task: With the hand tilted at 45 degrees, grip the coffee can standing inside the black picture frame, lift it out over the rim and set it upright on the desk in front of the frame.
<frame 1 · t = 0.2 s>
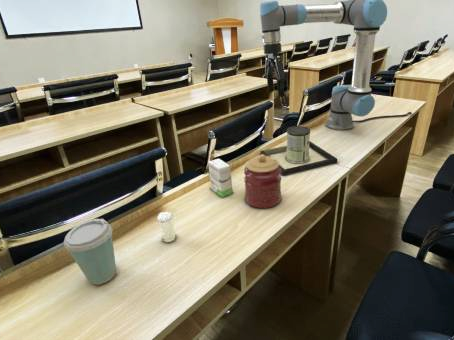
hand: (276, 94, 138), 27 cm above the table, tool pointing down, fingers open, 13 cm apart
salt shaker: (168, 239, 93), on the table
coffee can: (297, 159, 141), resting in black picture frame
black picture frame: (297, 158, 141), on the table
disposable coffee cup: (102, 275, 81), on the table
ink box: (221, 191, 117), on the table
kitchen canister: (263, 199, 112), on the table
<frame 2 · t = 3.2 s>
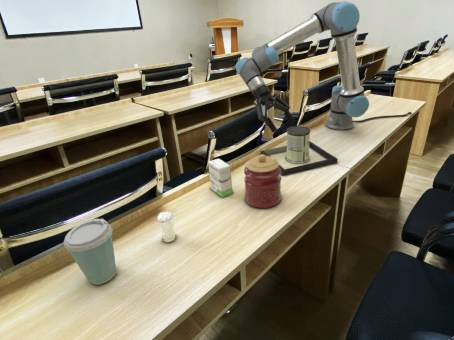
hand: (284, 127, 139), 14 cm above the table, tool tilted 45°, fingers open, 13 cm apart
nothing on the table moved.
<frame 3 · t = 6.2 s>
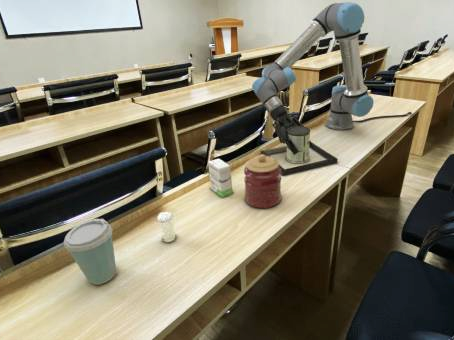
hand: (303, 149, 137), 5 cm above the table, tool tilted 45°, fingers closed on coffee can, 10 cm apart
coffee can: (297, 159, 141), resting in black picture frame, touching gripper
everything else where it was.
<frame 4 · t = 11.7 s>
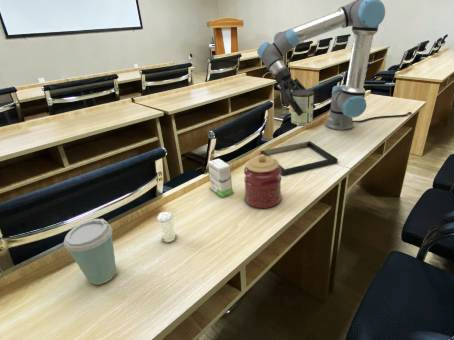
hand: (307, 111, 142), 19 cm above the table, tool tilted 45°, fingers closed on coffee can, 10 cm apart
coffee can: (301, 121, 146), point 13 cm above the table, touching gripper
everything else where it was.
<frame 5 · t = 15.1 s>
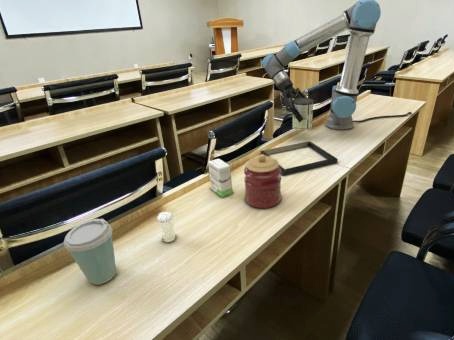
hand: (307, 118, 155), 12 cm above the table, tool tilted 45°, fingers closed on coffee can, 10 cm apart
coffee can: (302, 127, 159), point 6 cm above the table, touching gripper
everything else where it was.
when the fingers open (5 cm above the table, at t = 17.5 s): coffee can stays where it is, on the table.
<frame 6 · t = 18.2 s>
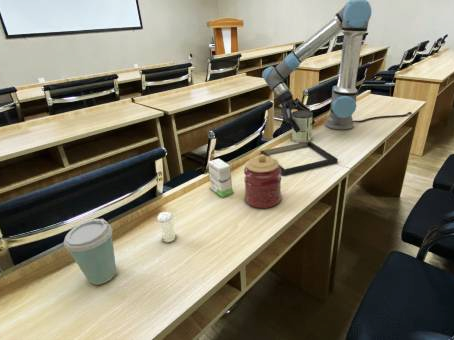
hand: (306, 127, 158), 7 cm above the table, tool tilted 45°, fingers open, 13 cm apart
coffee can: (301, 139, 162), on the table
everything else where it was.
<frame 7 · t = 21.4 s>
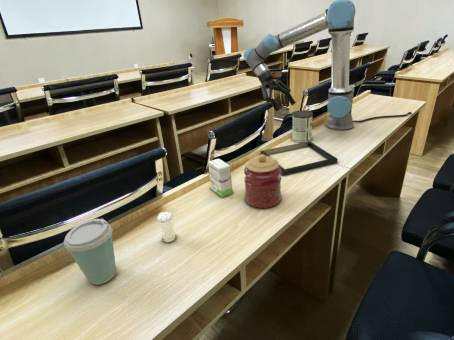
hand: (286, 107, 161), 15 cm above the table, tool tilted 45°, fingers open, 13 cm apart
nothing on the table moved.
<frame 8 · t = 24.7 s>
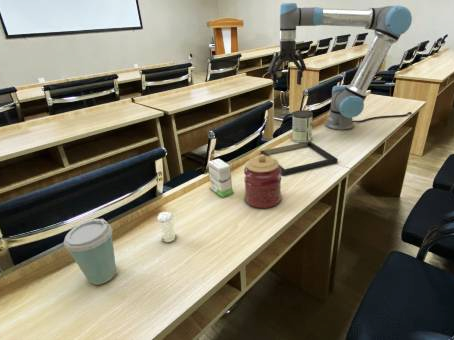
hand: (287, 85, 155), 27 cm above the table, tool pointing down, fingers open, 13 cm apart
nothing on the table moved.
at the end: coffee can inside the target area (0.1 cm from its centre), on the table; coffee can tilted 0°; the gripper is holding nothing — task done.
